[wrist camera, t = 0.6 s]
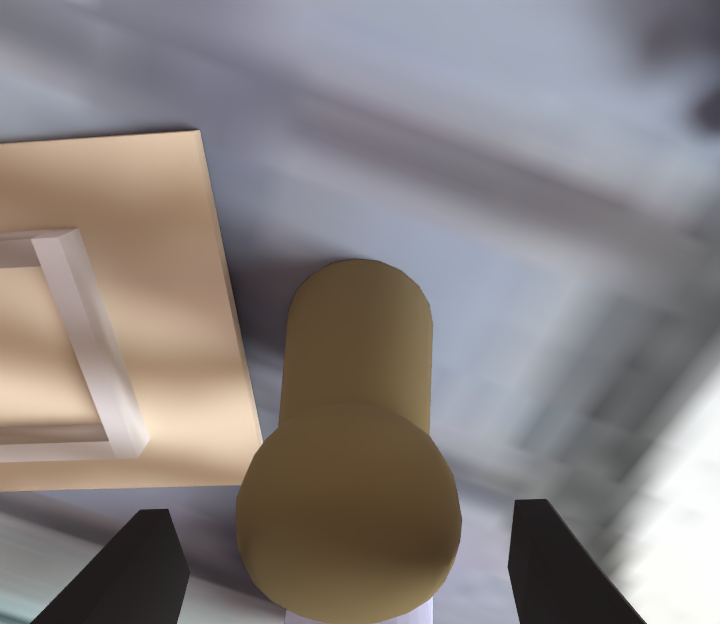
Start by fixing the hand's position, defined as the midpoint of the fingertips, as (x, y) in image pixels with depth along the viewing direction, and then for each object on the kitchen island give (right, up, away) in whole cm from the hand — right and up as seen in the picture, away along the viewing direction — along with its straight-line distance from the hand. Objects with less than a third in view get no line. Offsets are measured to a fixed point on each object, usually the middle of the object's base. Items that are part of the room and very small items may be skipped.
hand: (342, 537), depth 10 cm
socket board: (-15, +3, +10) cm, 18 cm away
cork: (0, +4, +10) cm, 11 cm away
